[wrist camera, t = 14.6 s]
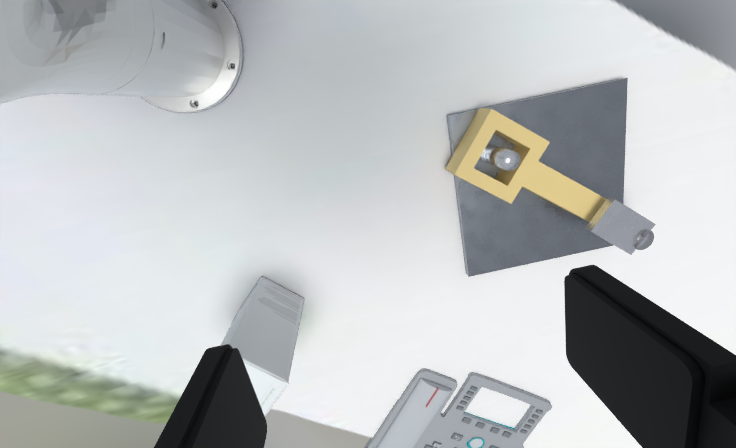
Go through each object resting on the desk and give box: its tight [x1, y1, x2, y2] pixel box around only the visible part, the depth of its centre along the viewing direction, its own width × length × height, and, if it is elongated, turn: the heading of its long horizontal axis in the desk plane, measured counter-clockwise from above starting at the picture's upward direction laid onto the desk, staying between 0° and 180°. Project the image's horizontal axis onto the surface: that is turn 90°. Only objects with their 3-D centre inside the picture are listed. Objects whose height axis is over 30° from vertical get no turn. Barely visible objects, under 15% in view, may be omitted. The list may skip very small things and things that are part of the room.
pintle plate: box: [447, 78, 655, 276], centre depth 41 cm, size 20×20×7 cm
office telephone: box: [364, 369, 552, 448], centre depth 55 cm, size 23×3×20 cm
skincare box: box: [221, 276, 304, 416], centre depth 40 cm, size 8×7×16 cm
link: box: [445, 108, 606, 222], centre depth 41 cm, size 18×7×4 cm, turn 63°
